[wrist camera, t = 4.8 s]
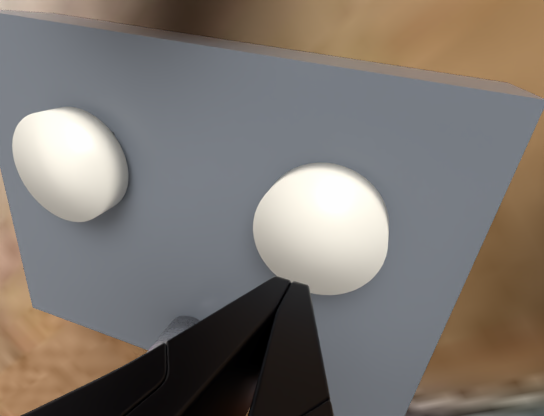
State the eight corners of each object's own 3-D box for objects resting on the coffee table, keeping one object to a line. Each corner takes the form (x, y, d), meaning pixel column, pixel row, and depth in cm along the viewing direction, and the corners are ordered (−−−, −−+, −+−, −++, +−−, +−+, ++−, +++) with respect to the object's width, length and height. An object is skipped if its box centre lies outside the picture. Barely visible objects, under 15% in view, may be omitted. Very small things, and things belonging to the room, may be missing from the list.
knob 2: (404, 157, 16) (406, 193, 12) (375, 255, 18) (369, 310, 15) (290, 133, 17) (259, 160, 13) (276, 229, 19) (247, 274, 16)
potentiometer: (217, 325, 20) (173, 396, 16) (215, 363, 22) (173, 437, 18) (169, 309, 21) (114, 373, 17) (169, 346, 22) (119, 414, 18)
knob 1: (161, 107, 19) (102, 124, 15) (162, 199, 21) (112, 233, 17) (75, 89, 20) (1, 102, 16) (86, 179, 22) (23, 207, 18)
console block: (507, 82, 16) (547, 100, 12) (394, 368, 24) (392, 441, 20) (52, 12, 21) (-37, 7, 17) (86, 267, 29) (32, 307, 25)
